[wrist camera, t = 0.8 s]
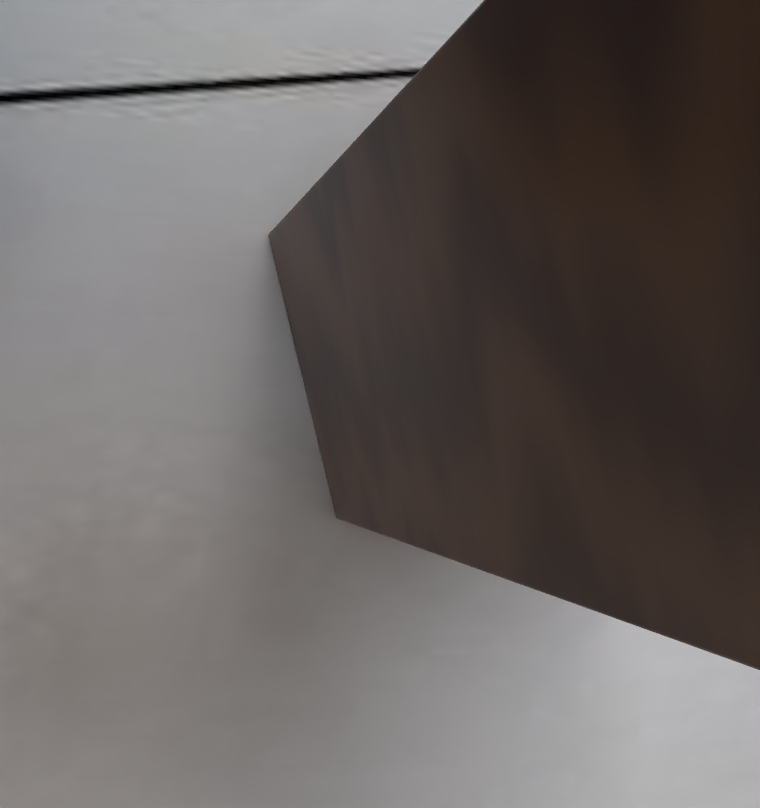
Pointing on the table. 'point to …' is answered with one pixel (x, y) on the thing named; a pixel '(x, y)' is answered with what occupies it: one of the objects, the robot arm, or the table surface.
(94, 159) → the table surface
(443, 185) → the stand
